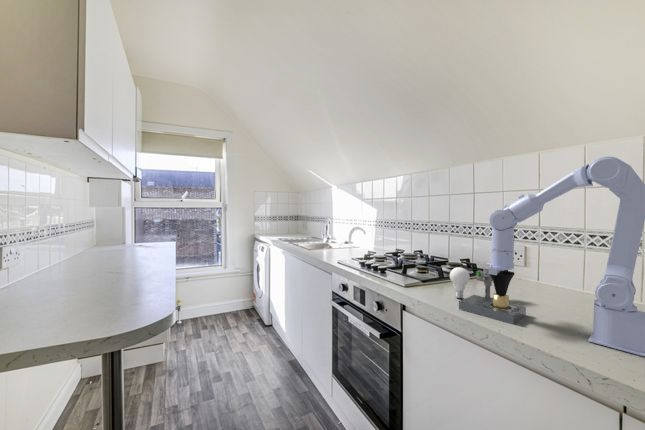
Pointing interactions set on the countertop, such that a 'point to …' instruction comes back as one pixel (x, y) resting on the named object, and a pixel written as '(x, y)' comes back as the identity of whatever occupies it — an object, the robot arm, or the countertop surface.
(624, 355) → the countertop surface
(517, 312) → the plate
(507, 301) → the cylinder
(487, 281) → the mechanical component
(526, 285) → the countertop surface
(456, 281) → the lightbulb
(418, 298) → the countertop surface
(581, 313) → the countertop surface
